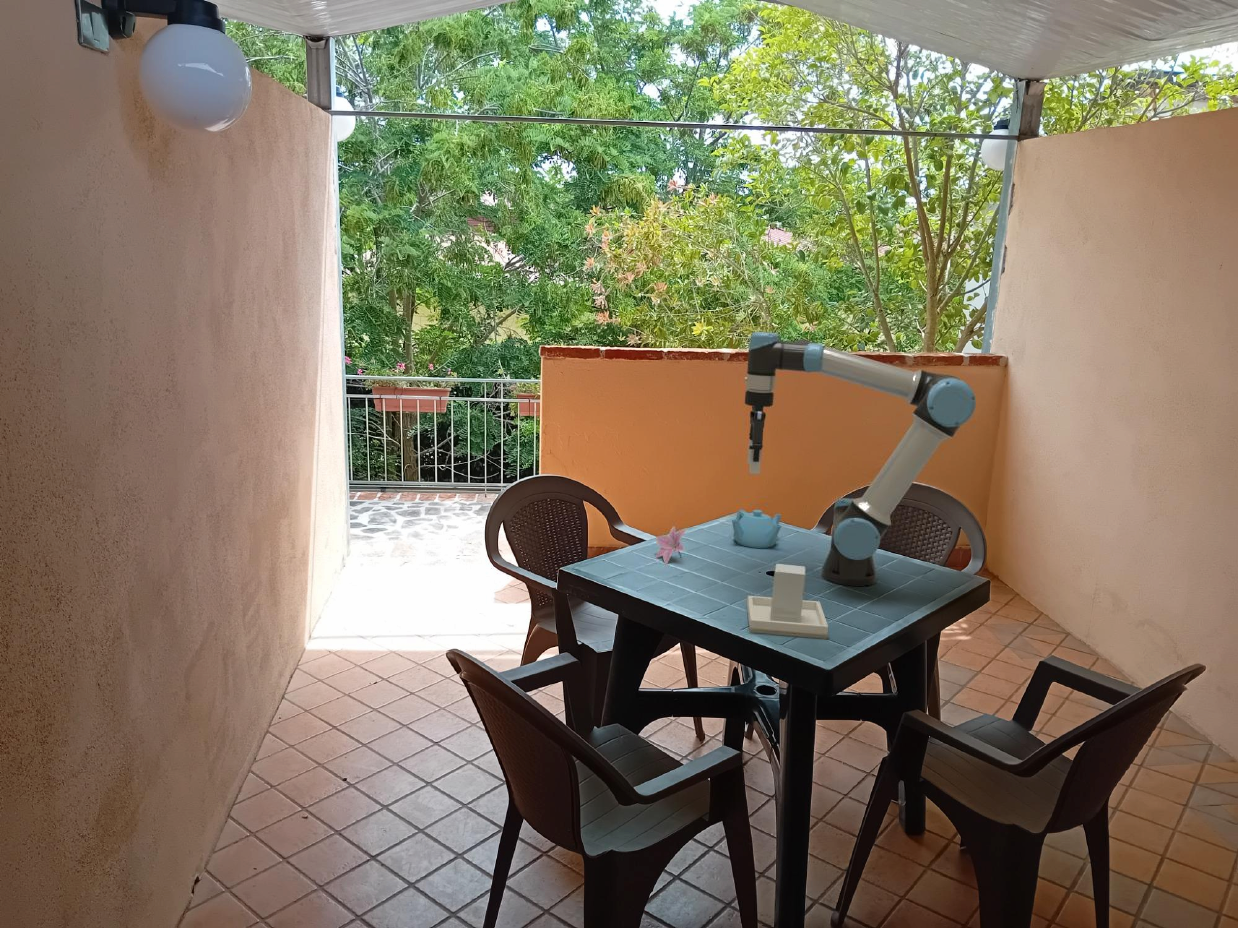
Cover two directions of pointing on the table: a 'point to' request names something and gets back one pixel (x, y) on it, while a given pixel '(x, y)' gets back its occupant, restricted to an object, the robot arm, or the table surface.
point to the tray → (809, 624)
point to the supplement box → (787, 593)
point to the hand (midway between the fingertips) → (753, 468)
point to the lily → (670, 544)
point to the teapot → (756, 529)
